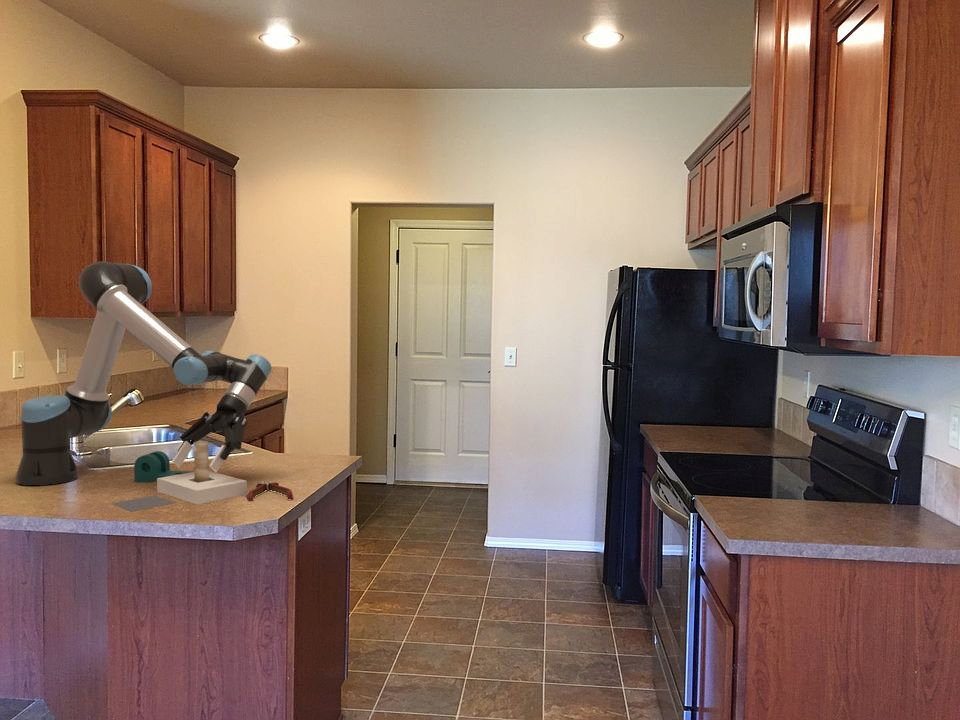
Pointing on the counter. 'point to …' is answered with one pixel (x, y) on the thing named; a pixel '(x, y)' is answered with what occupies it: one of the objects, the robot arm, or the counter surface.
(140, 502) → the mat
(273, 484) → the pliers
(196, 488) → the hole block
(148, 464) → the bracket
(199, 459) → the peg
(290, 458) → the counter surface
